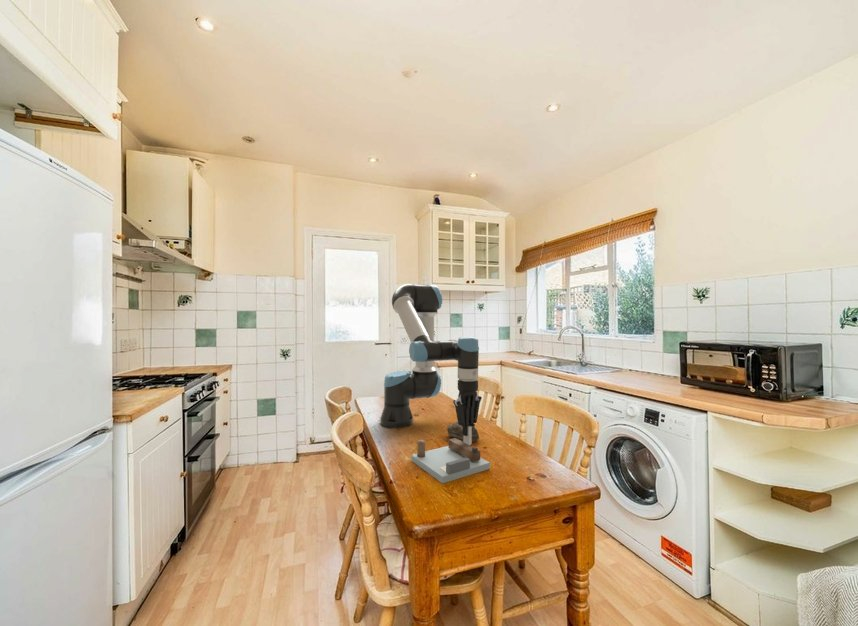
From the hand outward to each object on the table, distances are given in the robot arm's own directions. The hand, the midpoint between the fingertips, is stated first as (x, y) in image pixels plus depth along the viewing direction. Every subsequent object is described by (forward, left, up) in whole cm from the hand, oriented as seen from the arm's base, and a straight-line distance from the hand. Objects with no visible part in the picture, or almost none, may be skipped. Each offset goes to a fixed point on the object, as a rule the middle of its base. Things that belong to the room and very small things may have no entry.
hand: (467, 443), depth 127 cm
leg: (+5, -5, -1) cm, 7 cm away
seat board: (+5, -11, -3) cm, 13 cm away
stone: (-13, +8, -4) cm, 16 cm away
